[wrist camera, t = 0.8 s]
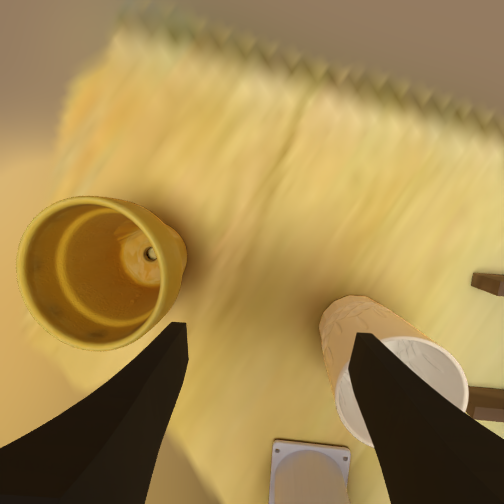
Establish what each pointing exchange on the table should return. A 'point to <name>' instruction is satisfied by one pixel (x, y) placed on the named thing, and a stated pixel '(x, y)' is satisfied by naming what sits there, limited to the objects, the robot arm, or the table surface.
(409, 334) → the beige tapered cylinder
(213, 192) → the table surface
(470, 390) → the holder
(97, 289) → the plant pot
